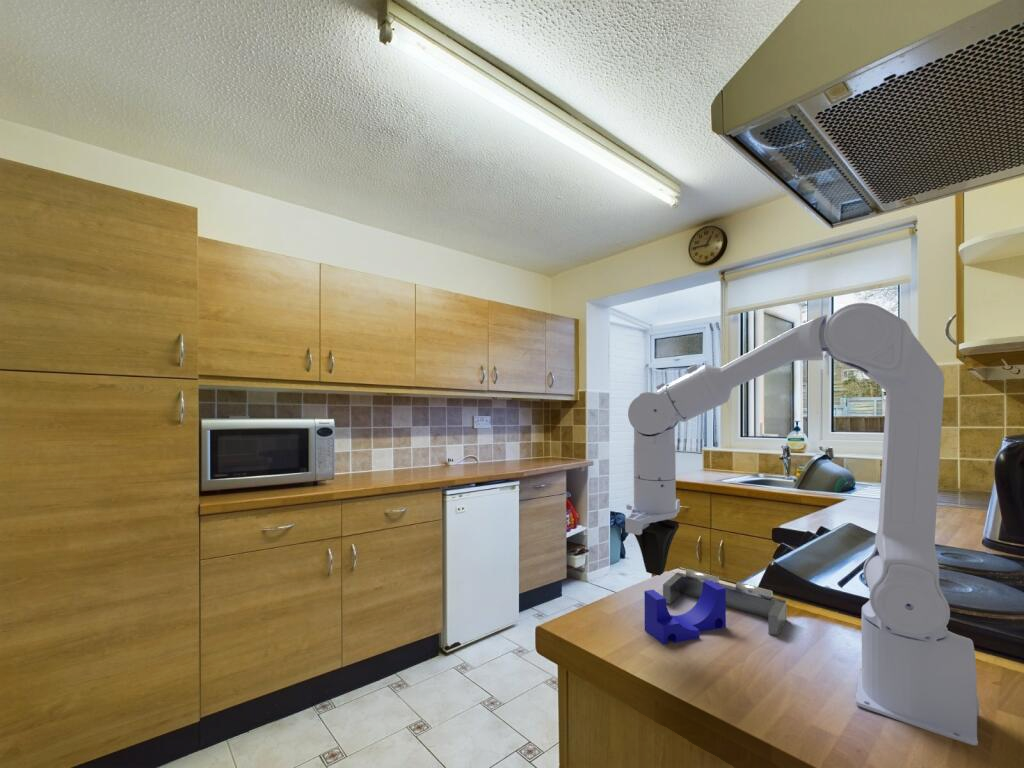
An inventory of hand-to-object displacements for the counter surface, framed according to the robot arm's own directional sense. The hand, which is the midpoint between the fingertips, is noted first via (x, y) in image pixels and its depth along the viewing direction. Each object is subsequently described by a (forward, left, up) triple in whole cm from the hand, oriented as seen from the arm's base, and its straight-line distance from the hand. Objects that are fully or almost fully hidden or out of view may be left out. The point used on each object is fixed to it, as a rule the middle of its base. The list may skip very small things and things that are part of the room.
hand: (654, 572), depth 66 cm
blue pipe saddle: (-3, -5, -10) cm, 11 cm away
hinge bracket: (-5, -13, -9) cm, 17 cm away
